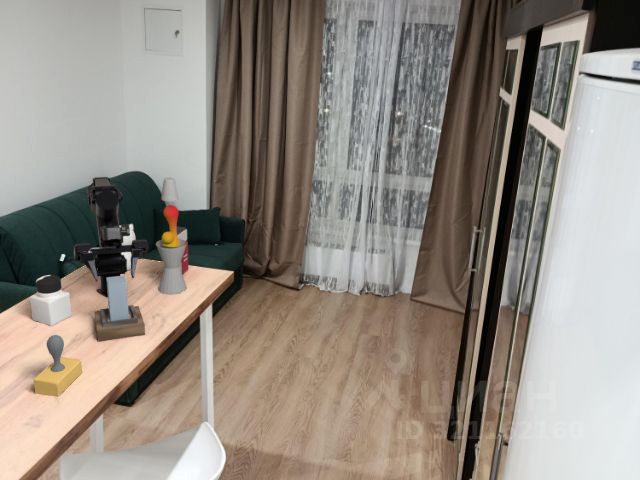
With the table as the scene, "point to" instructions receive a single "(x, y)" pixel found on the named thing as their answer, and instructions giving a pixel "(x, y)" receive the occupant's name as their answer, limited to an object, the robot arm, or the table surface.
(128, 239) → the cat figurine
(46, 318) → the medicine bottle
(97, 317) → the walnut plinth
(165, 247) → the lava lamp
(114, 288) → the slate post
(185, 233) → the red and white box
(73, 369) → the rubber stamp
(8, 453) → the table surface
